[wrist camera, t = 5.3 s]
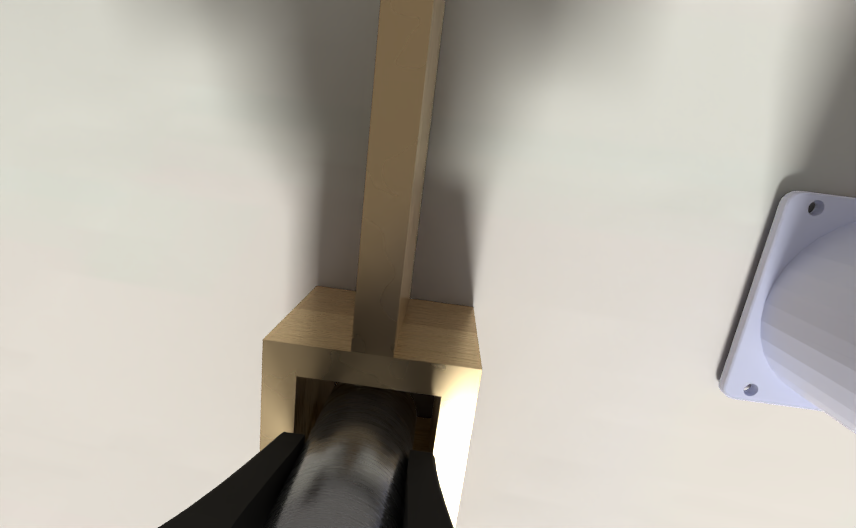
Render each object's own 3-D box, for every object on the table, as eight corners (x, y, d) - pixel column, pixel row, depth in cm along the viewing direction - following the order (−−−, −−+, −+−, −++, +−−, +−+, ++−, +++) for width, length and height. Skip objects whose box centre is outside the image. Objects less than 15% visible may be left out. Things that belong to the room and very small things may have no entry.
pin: (414, 456, 14) (381, 725, 8) (326, 449, 14) (216, 707, 8) (419, 376, 14) (387, 594, 7) (326, 368, 14) (204, 576, 7)
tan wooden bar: (524, -9, 14) (562, -95, 9) (420, 631, 21) (411, 773, 16) (335, -32, 14) (275, -128, 9) (297, 613, 21) (251, 748, 16)
